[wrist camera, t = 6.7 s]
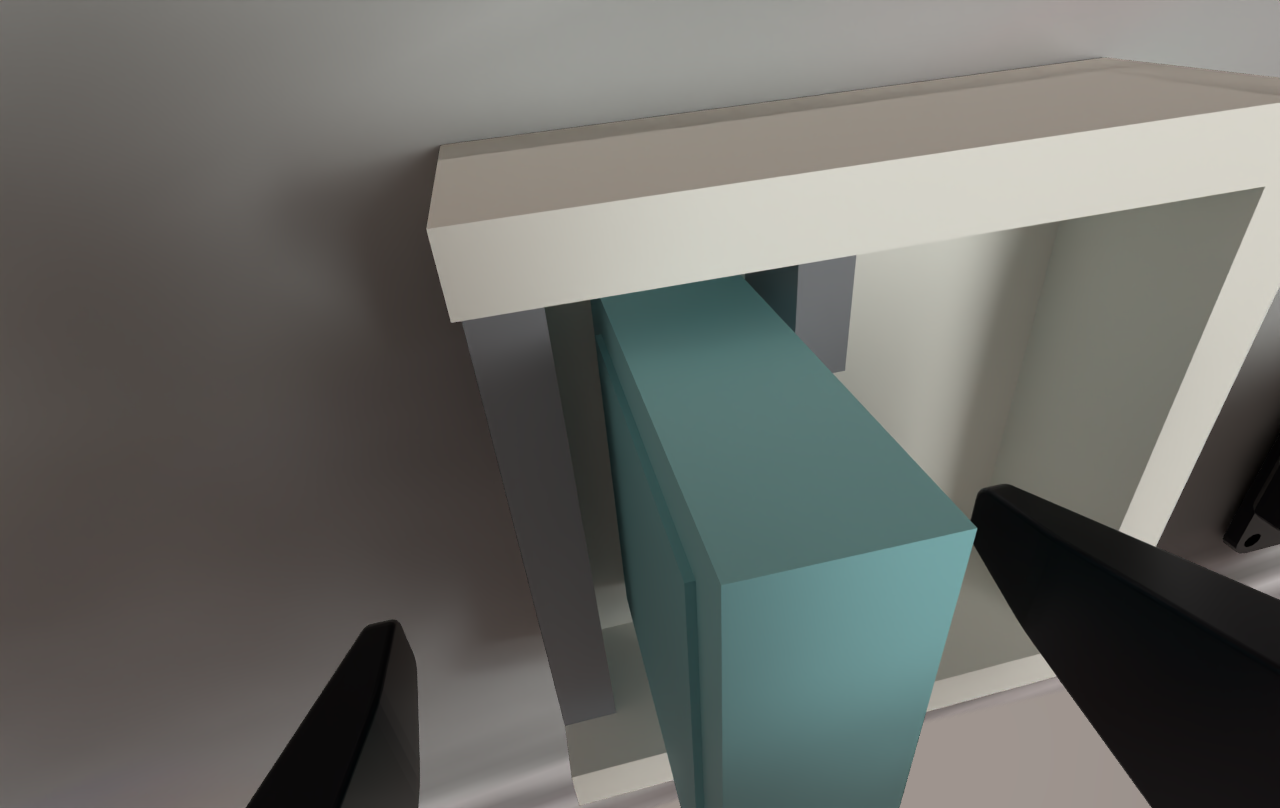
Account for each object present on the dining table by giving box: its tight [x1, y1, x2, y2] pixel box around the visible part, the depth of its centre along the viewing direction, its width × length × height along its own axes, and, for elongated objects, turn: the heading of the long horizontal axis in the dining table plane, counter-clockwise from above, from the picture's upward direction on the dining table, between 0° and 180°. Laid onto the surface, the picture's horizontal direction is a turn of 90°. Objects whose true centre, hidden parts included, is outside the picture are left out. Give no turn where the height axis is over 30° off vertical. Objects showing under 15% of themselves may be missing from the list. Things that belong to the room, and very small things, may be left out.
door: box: [590, 275, 977, 808], centre depth 9 cm, size 2×7×6 cm, turn 4°
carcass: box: [426, 57, 1280, 806], centre depth 12 cm, size 11×11×4 cm
